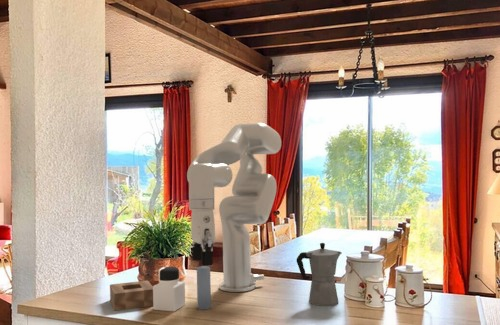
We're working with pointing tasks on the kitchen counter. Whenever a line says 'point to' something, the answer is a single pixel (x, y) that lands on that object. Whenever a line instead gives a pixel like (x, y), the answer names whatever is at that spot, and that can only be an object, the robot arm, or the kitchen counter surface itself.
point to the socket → (131, 295)
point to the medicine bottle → (168, 290)
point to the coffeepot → (321, 275)
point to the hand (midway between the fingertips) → (202, 262)
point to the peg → (203, 288)
